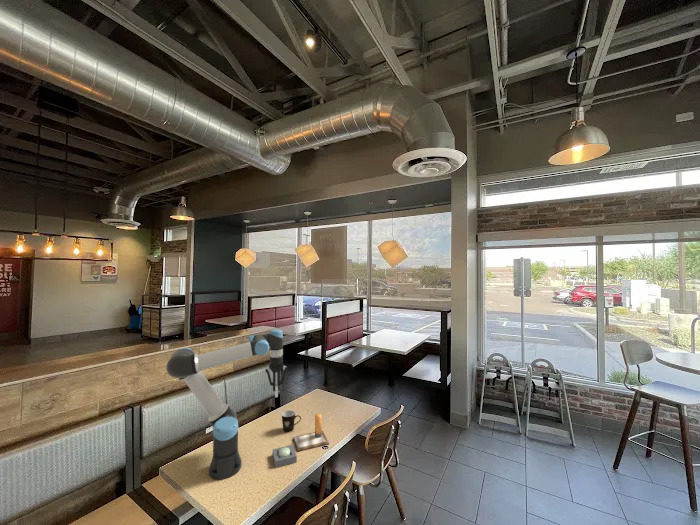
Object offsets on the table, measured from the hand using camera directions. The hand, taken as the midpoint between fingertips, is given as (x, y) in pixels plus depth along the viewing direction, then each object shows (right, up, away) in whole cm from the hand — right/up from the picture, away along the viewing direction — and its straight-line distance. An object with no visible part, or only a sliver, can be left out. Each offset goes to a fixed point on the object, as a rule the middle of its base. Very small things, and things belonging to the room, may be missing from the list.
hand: (276, 396), depth 170 cm
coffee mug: (+6, -27, +12) cm, 30 cm away
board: (+20, -26, 0) cm, 33 cm away
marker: (+24, -25, +3) cm, 35 cm away
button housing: (+8, -26, -16) cm, 31 cm away
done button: (+8, -25, -16) cm, 31 cm away
